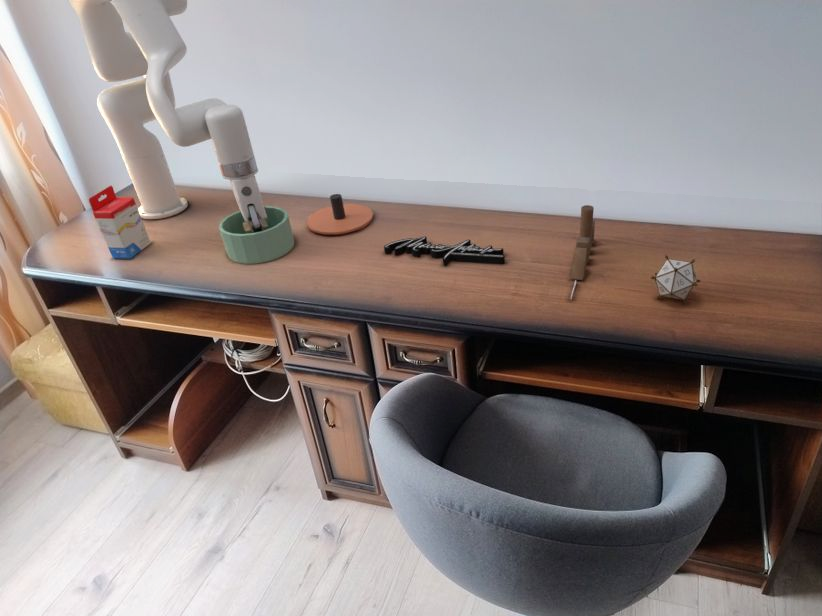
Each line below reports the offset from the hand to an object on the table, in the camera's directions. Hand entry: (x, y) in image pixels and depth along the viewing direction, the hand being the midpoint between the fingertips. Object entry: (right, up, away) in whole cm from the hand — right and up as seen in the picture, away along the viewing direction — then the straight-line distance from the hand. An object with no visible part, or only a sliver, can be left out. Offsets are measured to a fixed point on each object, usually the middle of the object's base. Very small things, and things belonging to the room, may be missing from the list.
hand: (260, 242), depth 146 cm
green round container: (0, -1, +1) cm, 1 cm away
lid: (+17, +7, +9) cm, 20 cm away
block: (0, 0, 0) cm, 0 cm away
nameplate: (+43, -4, -7) cm, 44 cm away
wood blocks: (+71, -8, -16) cm, 73 cm away
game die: (+87, -15, -27) cm, 92 cm away
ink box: (-32, -1, +4) cm, 32 cm away
